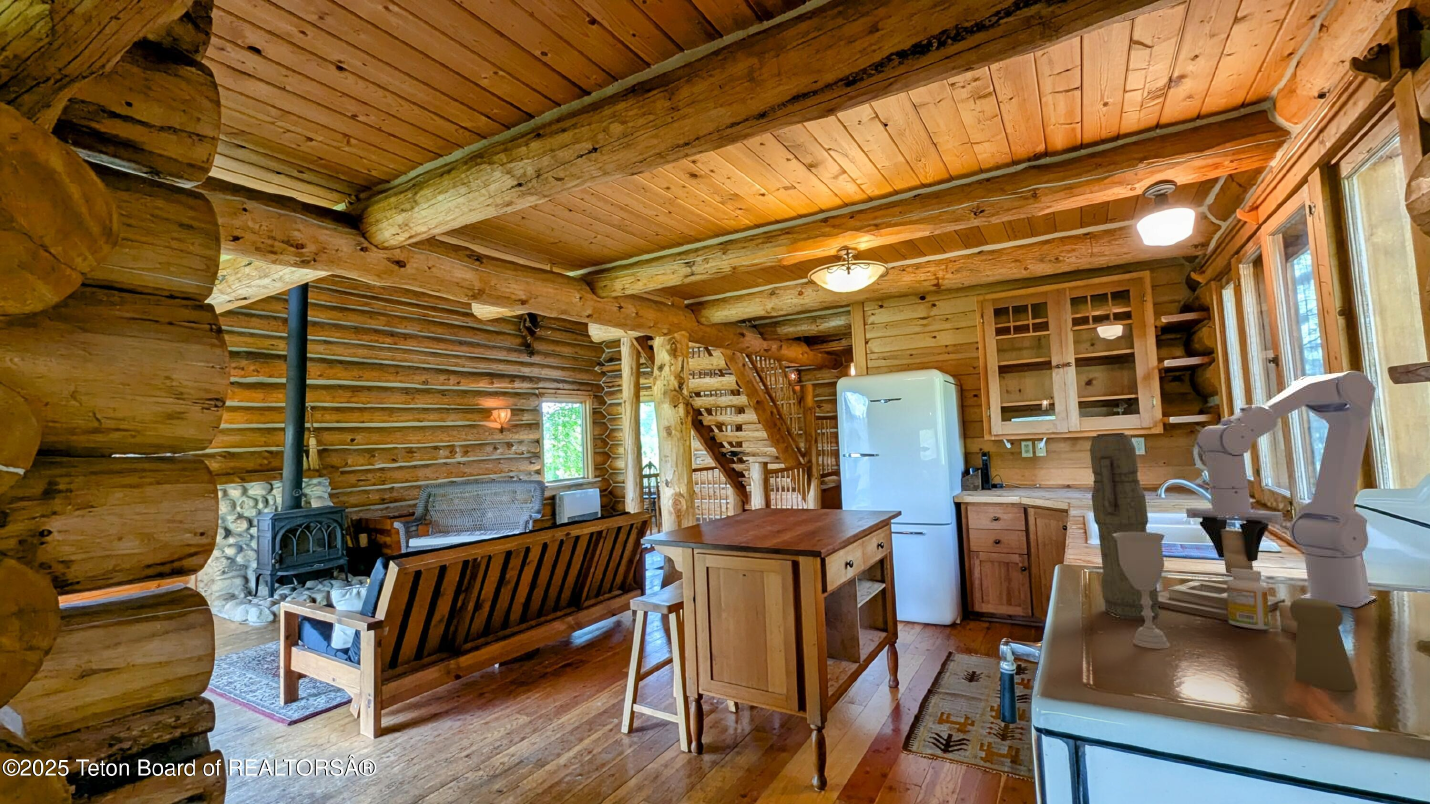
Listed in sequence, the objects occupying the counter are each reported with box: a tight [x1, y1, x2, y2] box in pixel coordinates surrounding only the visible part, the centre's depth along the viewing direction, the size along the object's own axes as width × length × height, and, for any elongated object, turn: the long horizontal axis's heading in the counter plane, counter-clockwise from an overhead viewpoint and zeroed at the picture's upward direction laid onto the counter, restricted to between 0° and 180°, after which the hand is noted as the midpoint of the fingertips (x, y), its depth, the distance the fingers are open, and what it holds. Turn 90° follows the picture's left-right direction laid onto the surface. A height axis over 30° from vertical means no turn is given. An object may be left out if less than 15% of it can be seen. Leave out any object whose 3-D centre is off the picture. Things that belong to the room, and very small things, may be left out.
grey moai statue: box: [1089, 432, 1160, 621], centre depth 117 cm, size 9×12×35 cm
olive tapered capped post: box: [1290, 598, 1358, 692], centre depth 82 cm, size 6×6×11 cm
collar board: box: [1158, 580, 1286, 621], centre depth 118 cm, size 17×16×3 cm
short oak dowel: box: [1277, 602, 1297, 634], centre depth 102 cm, size 4×4×4 cm
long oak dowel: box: [1221, 528, 1254, 575], centre depth 114 cm, size 4×4×8 cm
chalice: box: [1113, 531, 1171, 650], centre depth 101 cm, size 7×7×18 cm
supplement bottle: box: [1226, 568, 1270, 631], centre depth 105 cm, size 5×5×10 cm
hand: (1237, 558), depth 114 cm, fingers closed on long oak dowel, 4 cm apart
